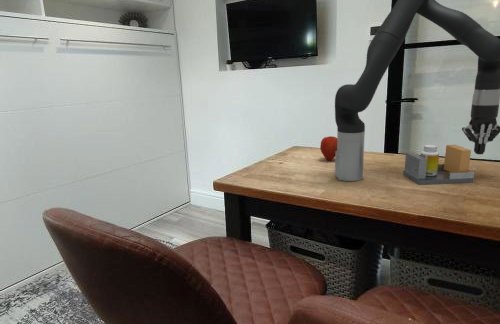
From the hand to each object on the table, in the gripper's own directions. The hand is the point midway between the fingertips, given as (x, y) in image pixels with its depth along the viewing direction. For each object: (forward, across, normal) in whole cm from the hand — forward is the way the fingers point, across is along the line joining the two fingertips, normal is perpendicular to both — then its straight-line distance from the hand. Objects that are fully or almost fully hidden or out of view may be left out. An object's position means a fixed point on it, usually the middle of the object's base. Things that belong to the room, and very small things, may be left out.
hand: (479, 153), depth 116 cm
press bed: (+8, -14, 0) cm, 16 cm away
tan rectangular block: (+6, -8, 0) cm, 10 cm away
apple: (+8, -44, +31) cm, 54 cm away
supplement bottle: (+7, -17, 0) cm, 18 cm away
